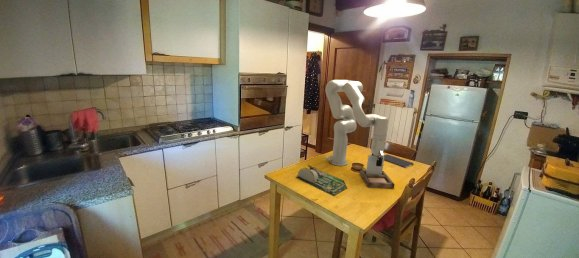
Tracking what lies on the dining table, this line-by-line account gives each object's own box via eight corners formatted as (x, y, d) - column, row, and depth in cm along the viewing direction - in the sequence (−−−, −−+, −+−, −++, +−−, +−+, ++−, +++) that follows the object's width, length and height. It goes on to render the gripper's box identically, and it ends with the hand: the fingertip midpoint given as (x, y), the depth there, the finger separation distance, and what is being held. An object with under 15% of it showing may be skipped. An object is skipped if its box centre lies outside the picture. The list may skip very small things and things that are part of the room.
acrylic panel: (366, 178, 151) (369, 156, 147) (365, 176, 154) (368, 154, 150) (380, 179, 151) (384, 157, 147) (379, 177, 154) (382, 155, 150)
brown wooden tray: (367, 188, 139) (368, 182, 138) (359, 174, 156) (360, 169, 155) (393, 189, 139) (394, 184, 138) (382, 175, 156) (383, 170, 155)
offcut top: (371, 185, 141) (371, 183, 140) (367, 180, 148) (367, 177, 147) (388, 186, 141) (388, 183, 141) (383, 180, 148) (383, 178, 147)
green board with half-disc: (291, 164, 149) (312, 157, 163) (290, 176, 151) (311, 167, 165) (335, 184, 127) (354, 173, 141) (333, 197, 129) (353, 185, 143)
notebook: (378, 159, 186) (405, 168, 170) (378, 157, 186) (405, 166, 170) (387, 156, 194) (413, 165, 178) (387, 154, 194) (413, 163, 177)
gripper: (368, 132, 154) (366, 157, 158) (378, 140, 137) (374, 168, 141) (380, 133, 154) (377, 158, 158) (391, 141, 137) (387, 168, 141)
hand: (376, 163), depth 149 cm, fingers open, 9 cm apart
